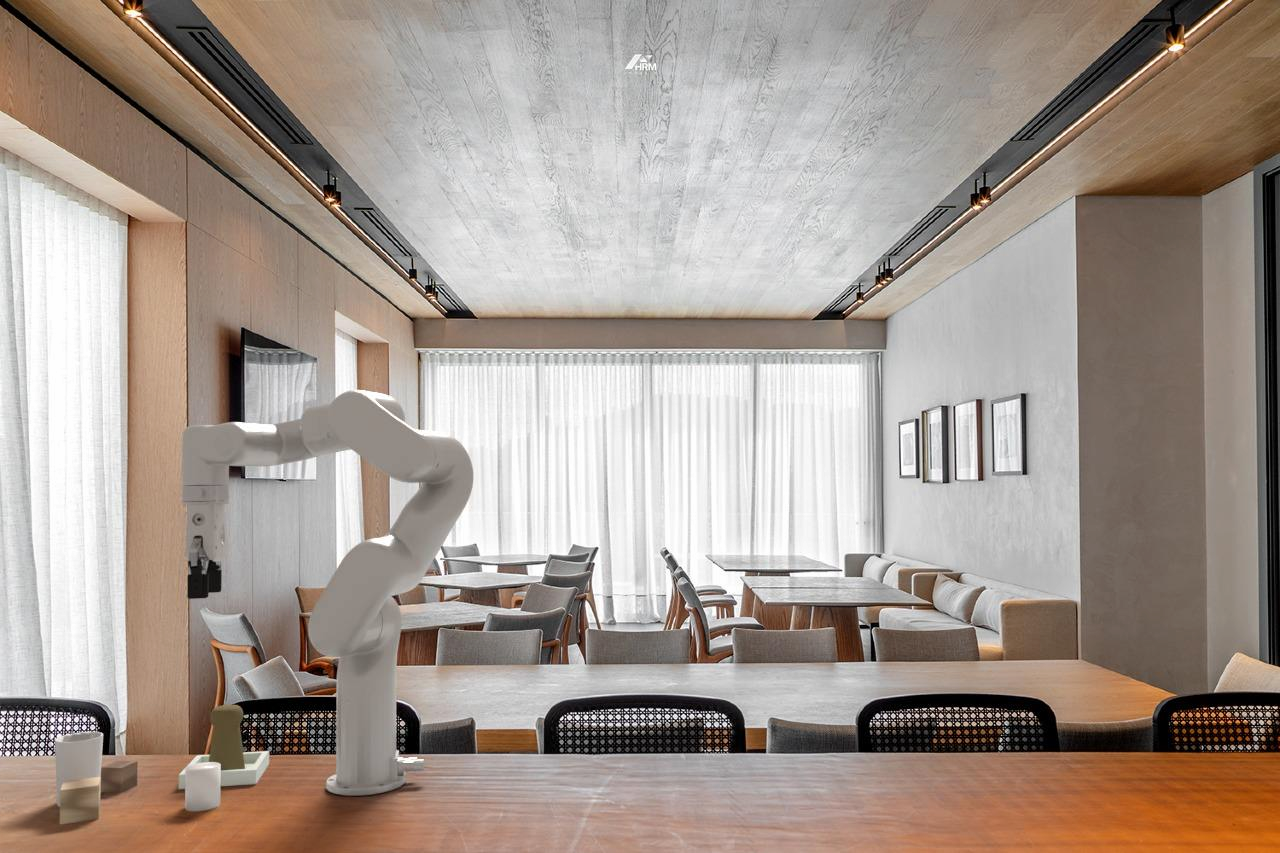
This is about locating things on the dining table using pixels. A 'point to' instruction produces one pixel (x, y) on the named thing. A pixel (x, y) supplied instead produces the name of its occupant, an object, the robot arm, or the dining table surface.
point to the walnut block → (118, 776)
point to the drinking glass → (77, 757)
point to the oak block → (80, 800)
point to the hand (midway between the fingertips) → (204, 595)
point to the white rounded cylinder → (202, 786)
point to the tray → (249, 775)
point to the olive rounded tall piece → (227, 737)
